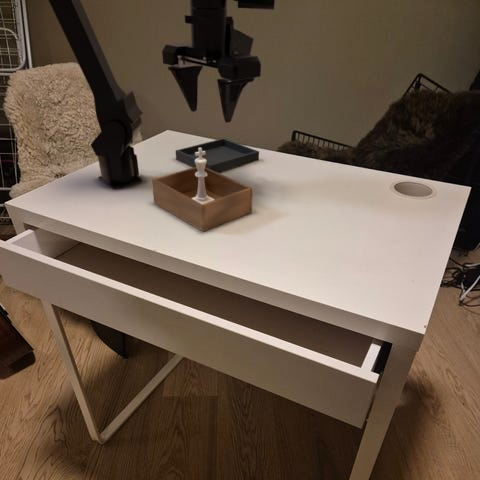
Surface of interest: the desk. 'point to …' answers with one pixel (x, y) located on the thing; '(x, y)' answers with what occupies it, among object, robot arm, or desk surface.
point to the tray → (219, 155)
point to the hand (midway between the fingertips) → (210, 116)
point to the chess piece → (201, 178)
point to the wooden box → (217, 187)
